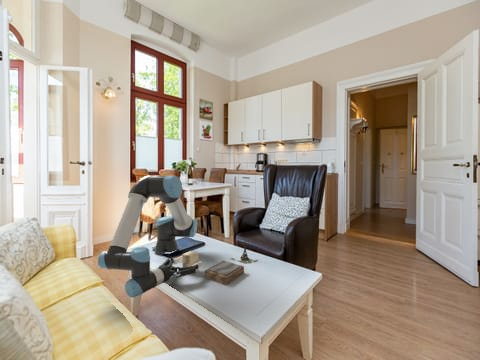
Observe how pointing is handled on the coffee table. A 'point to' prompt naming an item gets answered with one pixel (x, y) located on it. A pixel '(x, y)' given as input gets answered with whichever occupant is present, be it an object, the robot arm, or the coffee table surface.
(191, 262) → the oak block
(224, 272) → the walnut frame
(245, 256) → the eiffel tower figurine
